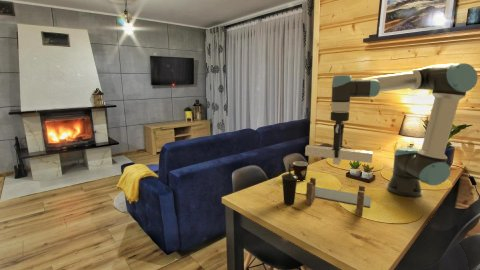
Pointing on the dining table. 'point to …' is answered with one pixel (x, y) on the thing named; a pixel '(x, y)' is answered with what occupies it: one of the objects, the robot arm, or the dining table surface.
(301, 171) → the coffee mug
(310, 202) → the walnut cradles
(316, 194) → the grey flat panel
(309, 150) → the alu bar
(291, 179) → the drinking cup
